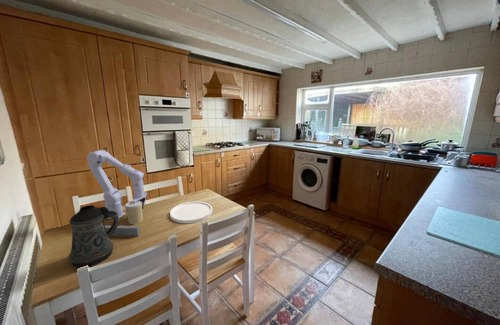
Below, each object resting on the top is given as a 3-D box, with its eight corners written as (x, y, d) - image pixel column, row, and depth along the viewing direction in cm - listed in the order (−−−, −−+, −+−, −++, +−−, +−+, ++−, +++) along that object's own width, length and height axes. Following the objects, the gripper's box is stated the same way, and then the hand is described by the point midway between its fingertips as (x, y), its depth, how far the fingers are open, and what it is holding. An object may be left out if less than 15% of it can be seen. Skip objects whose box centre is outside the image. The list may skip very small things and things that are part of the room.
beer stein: (62, 262, 92) (50, 212, 86) (106, 238, 110) (99, 195, 104) (84, 273, 86) (73, 220, 80) (127, 247, 103) (120, 201, 97)
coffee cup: (147, 218, 131) (145, 201, 128) (135, 226, 122) (132, 207, 119) (136, 216, 134) (134, 199, 131) (123, 223, 125) (121, 205, 122)
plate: (213, 221, 130) (213, 217, 129) (167, 226, 123) (166, 222, 123) (211, 202, 156) (211, 199, 156) (172, 206, 150) (172, 203, 149)
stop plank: (101, 235, 112) (100, 227, 111) (104, 233, 114) (103, 225, 113) (138, 236, 112) (137, 228, 111) (140, 233, 115) (139, 225, 113)
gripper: (139, 194, 124) (141, 214, 127) (150, 186, 138) (152, 204, 141) (127, 194, 124) (130, 214, 127) (139, 185, 138) (142, 204, 141)
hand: (141, 209), depth 134 cm, fingers closed
